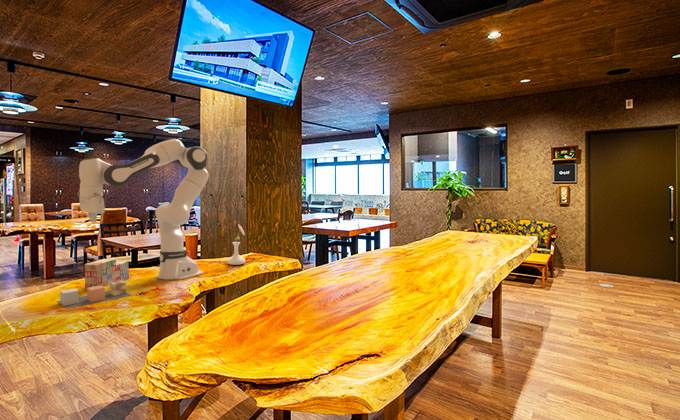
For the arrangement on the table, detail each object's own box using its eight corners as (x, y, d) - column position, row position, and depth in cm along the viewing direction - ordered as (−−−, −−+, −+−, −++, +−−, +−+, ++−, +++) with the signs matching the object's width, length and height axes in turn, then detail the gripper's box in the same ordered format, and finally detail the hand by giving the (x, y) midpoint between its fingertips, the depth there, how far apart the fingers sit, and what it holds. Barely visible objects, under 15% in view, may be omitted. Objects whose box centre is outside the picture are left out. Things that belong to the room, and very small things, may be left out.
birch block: (122, 290, 166) (121, 280, 165) (126, 293, 163) (126, 282, 162) (109, 293, 162) (109, 282, 162) (114, 295, 159) (113, 284, 158)
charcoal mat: (120, 290, 168) (120, 289, 168) (132, 296, 160) (132, 295, 160) (56, 302, 150) (56, 301, 150) (66, 310, 141) (66, 309, 141)
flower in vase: (239, 266, 221) (240, 226, 219) (223, 265, 223) (223, 225, 222) (250, 262, 233) (250, 223, 232) (234, 261, 236) (234, 223, 234)
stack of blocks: (118, 278, 189) (117, 254, 188) (129, 278, 188) (128, 255, 187) (84, 289, 168) (84, 263, 167) (97, 290, 167) (96, 264, 166)
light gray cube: (74, 300, 152) (74, 288, 152) (78, 302, 149) (78, 290, 148) (60, 302, 148) (59, 290, 148) (63, 305, 145) (63, 293, 145)
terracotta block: (101, 296, 157) (100, 285, 157) (105, 299, 154) (104, 287, 153) (87, 299, 153) (87, 287, 153) (91, 302, 150) (90, 290, 150)
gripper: (108, 193, 165) (109, 223, 166) (91, 191, 178) (92, 219, 179) (92, 193, 160) (93, 224, 162) (76, 192, 173) (77, 220, 174)
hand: (93, 222), depth 170 cm, fingers closed
